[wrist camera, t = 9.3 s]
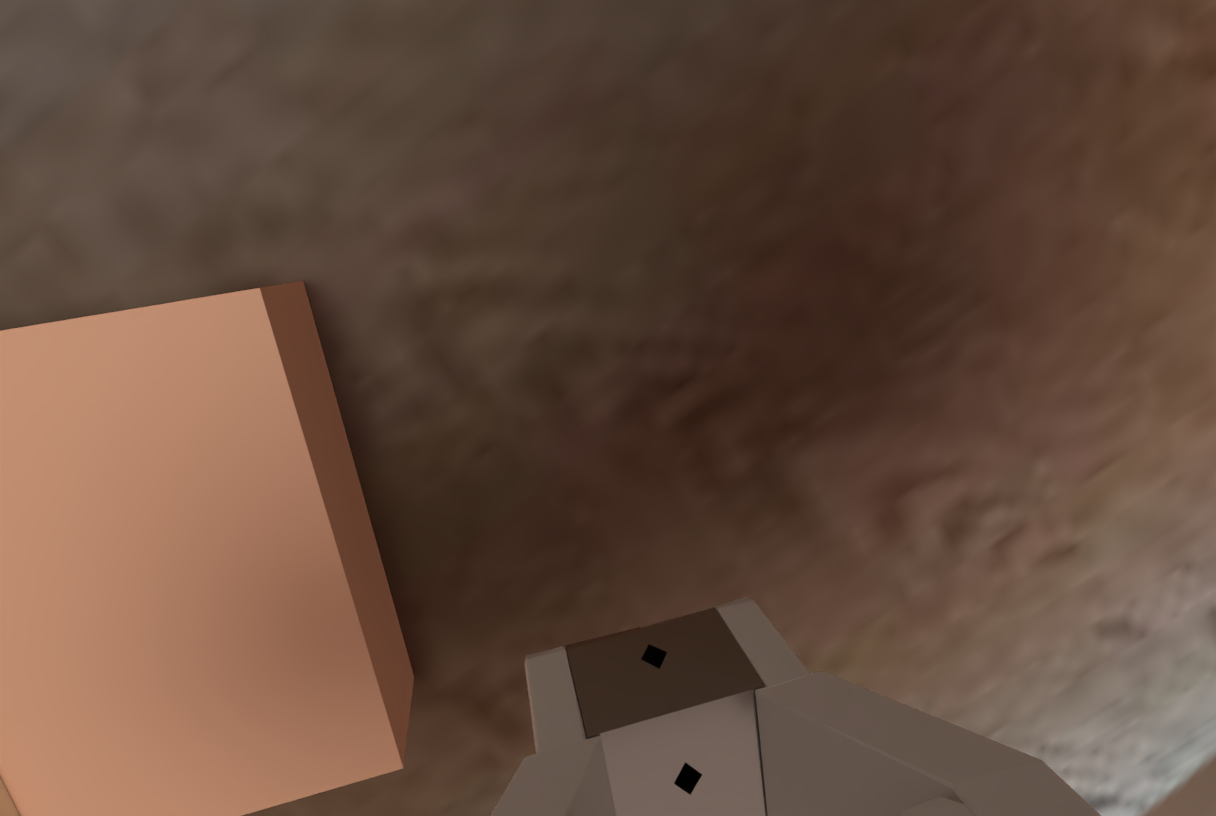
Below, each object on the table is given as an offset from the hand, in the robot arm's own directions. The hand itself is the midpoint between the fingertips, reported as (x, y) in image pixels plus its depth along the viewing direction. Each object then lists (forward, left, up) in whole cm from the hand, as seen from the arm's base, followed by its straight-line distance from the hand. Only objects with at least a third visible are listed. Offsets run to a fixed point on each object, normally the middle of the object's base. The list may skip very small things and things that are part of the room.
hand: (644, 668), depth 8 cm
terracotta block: (0, -9, -11) cm, 15 cm away
